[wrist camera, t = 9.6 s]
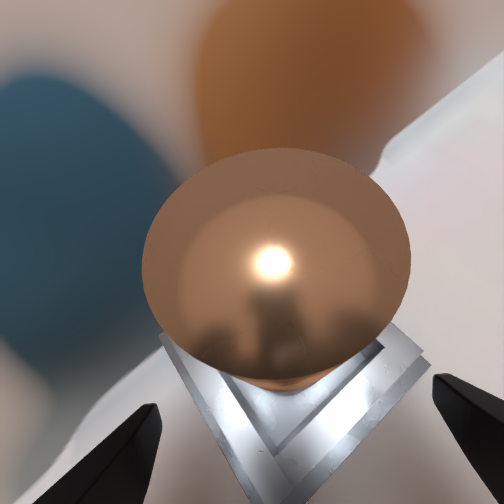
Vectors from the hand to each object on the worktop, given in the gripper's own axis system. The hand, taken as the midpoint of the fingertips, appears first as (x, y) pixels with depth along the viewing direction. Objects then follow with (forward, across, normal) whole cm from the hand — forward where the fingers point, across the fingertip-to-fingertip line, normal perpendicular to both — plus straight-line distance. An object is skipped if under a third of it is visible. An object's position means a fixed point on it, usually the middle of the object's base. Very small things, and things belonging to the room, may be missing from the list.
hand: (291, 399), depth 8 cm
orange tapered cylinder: (+7, 0, +3) cm, 8 cm away
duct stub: (+8, 0, +4) cm, 8 cm away
